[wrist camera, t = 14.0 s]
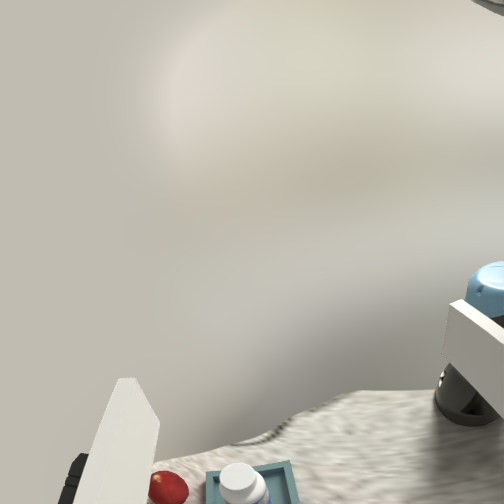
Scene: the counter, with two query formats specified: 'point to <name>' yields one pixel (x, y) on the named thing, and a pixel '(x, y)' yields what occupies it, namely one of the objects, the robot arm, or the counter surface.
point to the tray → (274, 477)
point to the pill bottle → (243, 485)
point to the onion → (167, 488)
